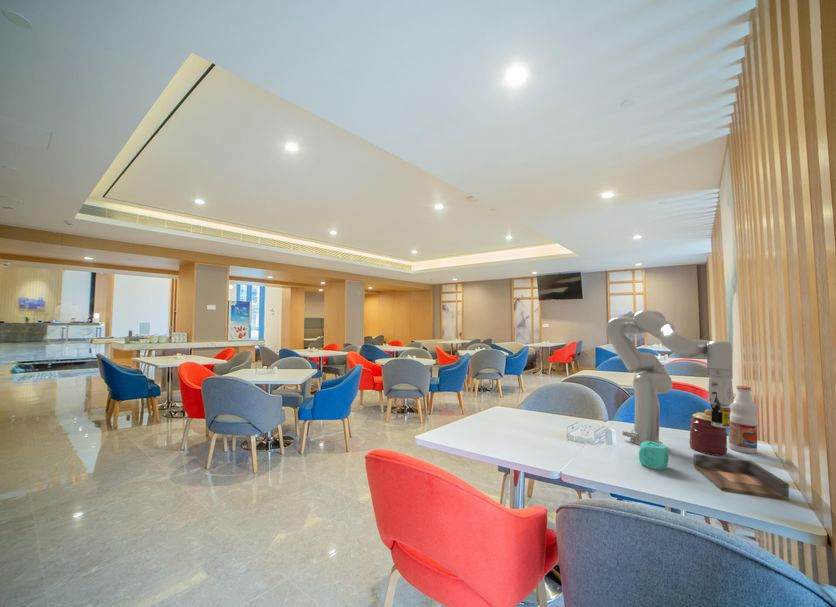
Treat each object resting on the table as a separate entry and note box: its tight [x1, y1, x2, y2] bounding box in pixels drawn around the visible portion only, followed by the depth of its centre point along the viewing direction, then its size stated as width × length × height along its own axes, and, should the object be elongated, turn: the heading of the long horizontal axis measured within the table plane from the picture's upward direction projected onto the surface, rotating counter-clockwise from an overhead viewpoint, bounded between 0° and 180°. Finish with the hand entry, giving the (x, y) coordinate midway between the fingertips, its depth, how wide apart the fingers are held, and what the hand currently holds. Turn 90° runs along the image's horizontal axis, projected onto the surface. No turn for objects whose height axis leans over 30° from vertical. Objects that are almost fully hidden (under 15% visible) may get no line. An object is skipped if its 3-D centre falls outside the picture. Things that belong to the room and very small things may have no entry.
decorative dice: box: [638, 441, 669, 471], centre depth 139 cm, size 8×8×8 cm
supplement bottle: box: [711, 402, 731, 429], centre depth 139 cm, size 6×6×10 cm
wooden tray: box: [693, 453, 790, 501], centre depth 128 cm, size 18×20×5 cm
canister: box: [689, 409, 728, 456], centre depth 160 cm, size 13×13×18 cm
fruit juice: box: [728, 385, 758, 455], centre depth 163 cm, size 9×9×28 cm
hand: (720, 421), depth 139 cm, fingers closed on supplement bottle, 5 cm apart
